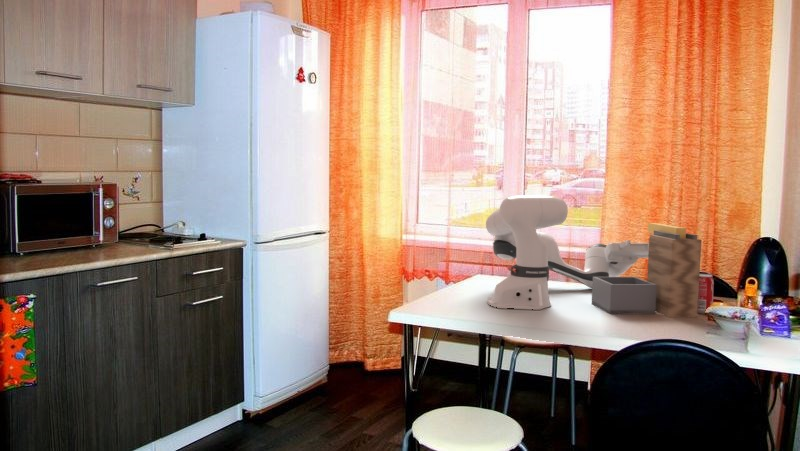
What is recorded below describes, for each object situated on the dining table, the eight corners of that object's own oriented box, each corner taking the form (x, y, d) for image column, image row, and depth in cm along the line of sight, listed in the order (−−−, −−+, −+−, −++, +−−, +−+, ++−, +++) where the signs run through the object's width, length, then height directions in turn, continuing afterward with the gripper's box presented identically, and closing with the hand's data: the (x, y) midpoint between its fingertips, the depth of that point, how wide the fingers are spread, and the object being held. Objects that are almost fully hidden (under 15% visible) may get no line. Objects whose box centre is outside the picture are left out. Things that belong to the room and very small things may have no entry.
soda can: (714, 314, 217) (717, 277, 216) (692, 313, 219) (694, 275, 218) (709, 310, 224) (711, 273, 223) (687, 309, 226) (689, 272, 224)
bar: (675, 238, 214) (676, 227, 214) (647, 232, 234) (648, 223, 234) (685, 238, 214) (686, 228, 214) (656, 232, 234) (657, 223, 234)
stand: (668, 317, 212) (672, 235, 210) (645, 306, 228) (649, 230, 226) (696, 317, 213) (701, 235, 211) (672, 306, 229) (676, 230, 226)
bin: (609, 313, 215) (611, 284, 215) (591, 303, 231) (592, 276, 230) (655, 313, 217) (656, 284, 216) (634, 303, 233) (635, 276, 232)
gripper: (652, 263, 255) (668, 249, 243) (603, 262, 253) (616, 249, 241) (649, 248, 258) (665, 234, 245) (600, 248, 256) (613, 234, 244)
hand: (640, 242), depth 243 cm, fingers open, 8 cm apart
